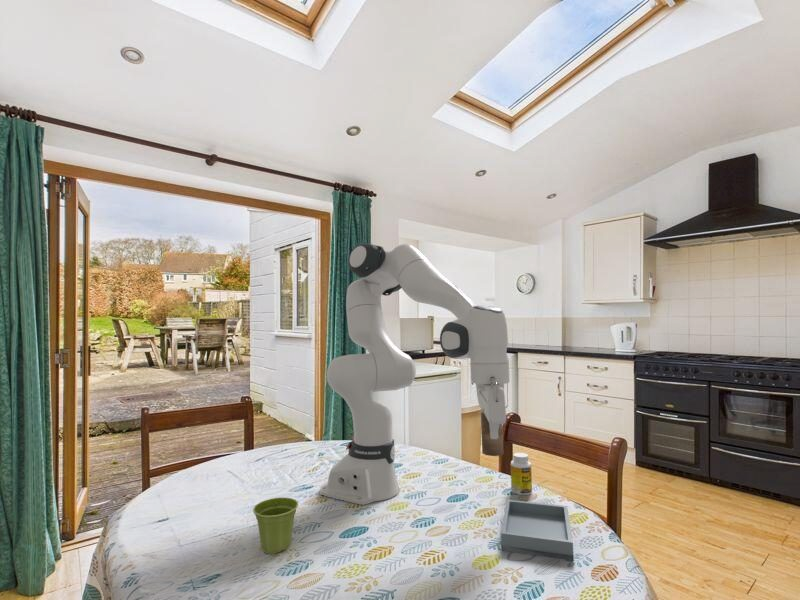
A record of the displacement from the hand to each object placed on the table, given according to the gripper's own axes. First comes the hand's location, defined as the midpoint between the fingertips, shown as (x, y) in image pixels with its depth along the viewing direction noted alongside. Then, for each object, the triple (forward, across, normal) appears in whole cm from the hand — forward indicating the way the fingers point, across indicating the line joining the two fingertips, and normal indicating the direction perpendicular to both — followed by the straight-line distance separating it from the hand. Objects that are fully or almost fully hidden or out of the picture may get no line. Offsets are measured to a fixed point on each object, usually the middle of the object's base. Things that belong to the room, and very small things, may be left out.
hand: (492, 434), depth 99 cm
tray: (+22, -2, -9) cm, 23 cm away
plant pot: (+22, -9, +48) cm, 54 cm away
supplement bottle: (+22, +21, -10) cm, 32 cm away
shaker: (+4, 0, 0) cm, 4 cm away
